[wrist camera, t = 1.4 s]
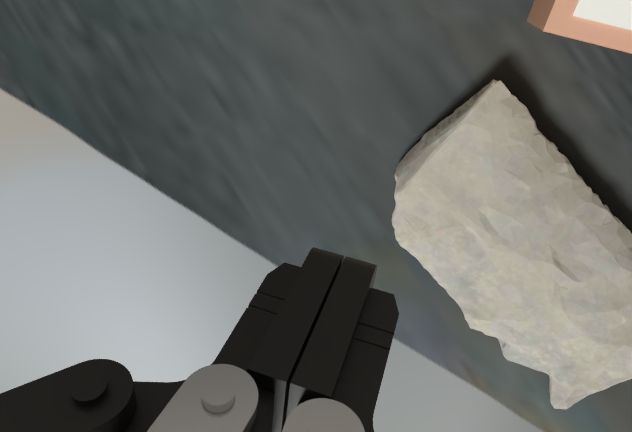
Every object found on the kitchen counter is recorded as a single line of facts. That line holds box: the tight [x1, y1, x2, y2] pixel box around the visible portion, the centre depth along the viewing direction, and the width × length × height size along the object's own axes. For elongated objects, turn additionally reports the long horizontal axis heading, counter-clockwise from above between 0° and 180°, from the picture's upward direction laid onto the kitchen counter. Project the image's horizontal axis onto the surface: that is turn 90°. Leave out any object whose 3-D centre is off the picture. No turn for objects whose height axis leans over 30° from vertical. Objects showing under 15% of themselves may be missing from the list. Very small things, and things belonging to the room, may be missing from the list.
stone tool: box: [392, 79, 632, 409], centre depth 36 cm, size 13×4×25 cm
